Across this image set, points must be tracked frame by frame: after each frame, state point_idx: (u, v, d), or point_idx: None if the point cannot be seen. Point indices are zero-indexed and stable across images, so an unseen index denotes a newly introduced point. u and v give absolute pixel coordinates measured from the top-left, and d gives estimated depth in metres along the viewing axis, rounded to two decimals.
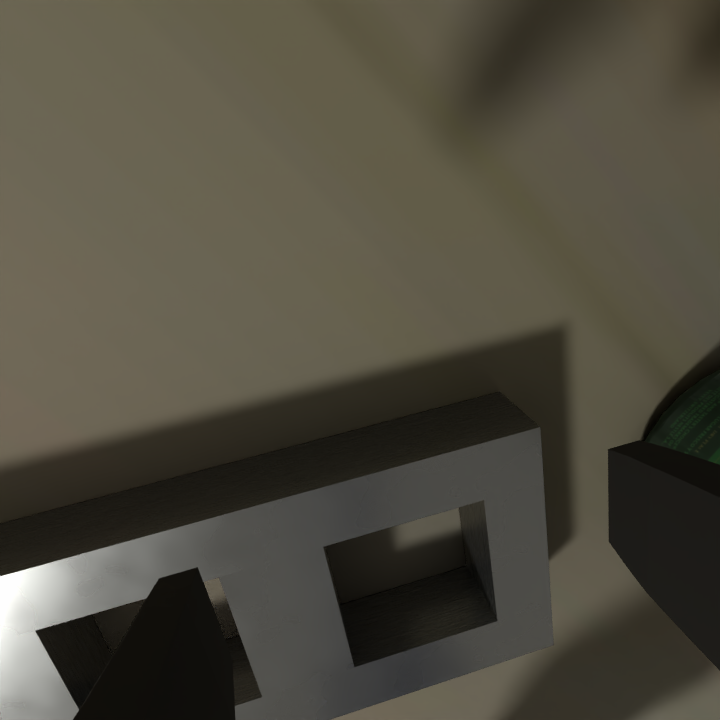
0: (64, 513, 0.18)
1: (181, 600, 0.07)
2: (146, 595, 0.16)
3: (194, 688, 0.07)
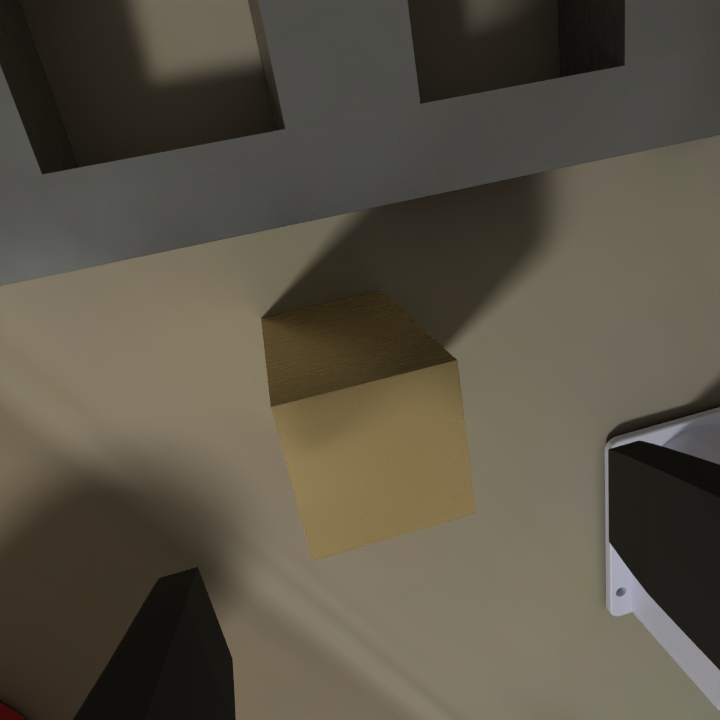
0: None
1: (181, 600, 0.07)
2: None
3: (194, 688, 0.07)
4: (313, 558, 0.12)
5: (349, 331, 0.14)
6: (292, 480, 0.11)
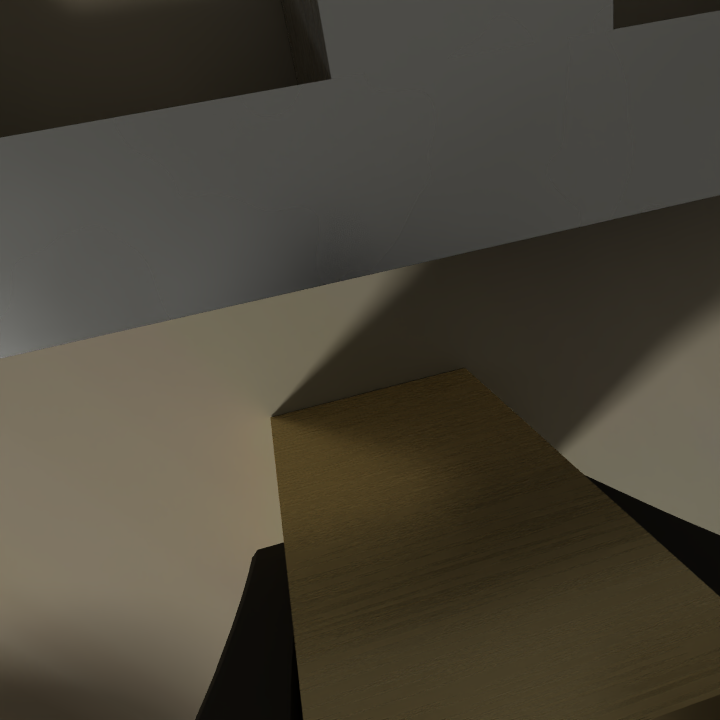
0: None
1: None
2: None
3: None
4: None
5: (444, 481, 0.07)
6: None
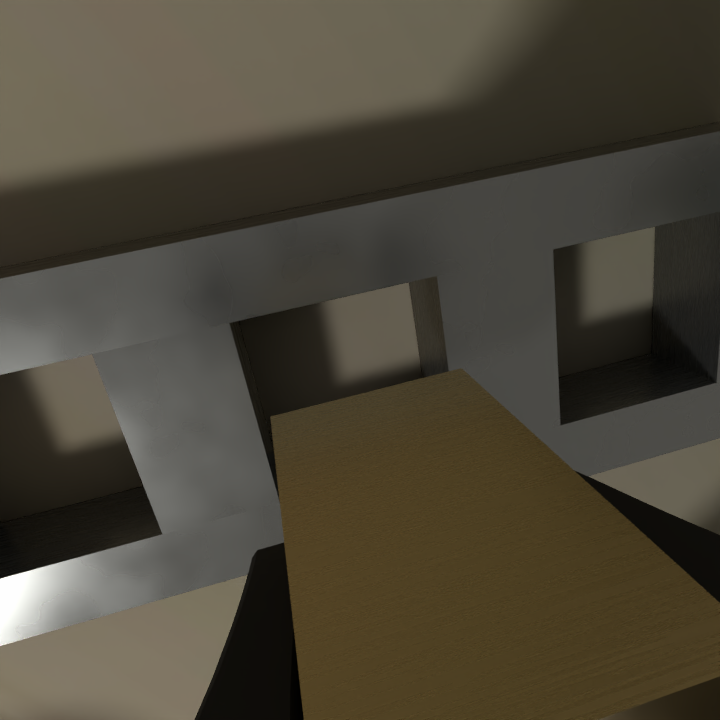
0: (242, 219, 0.15)
1: None
2: (355, 290, 0.14)
3: None
4: None
5: (441, 479, 0.08)
6: None
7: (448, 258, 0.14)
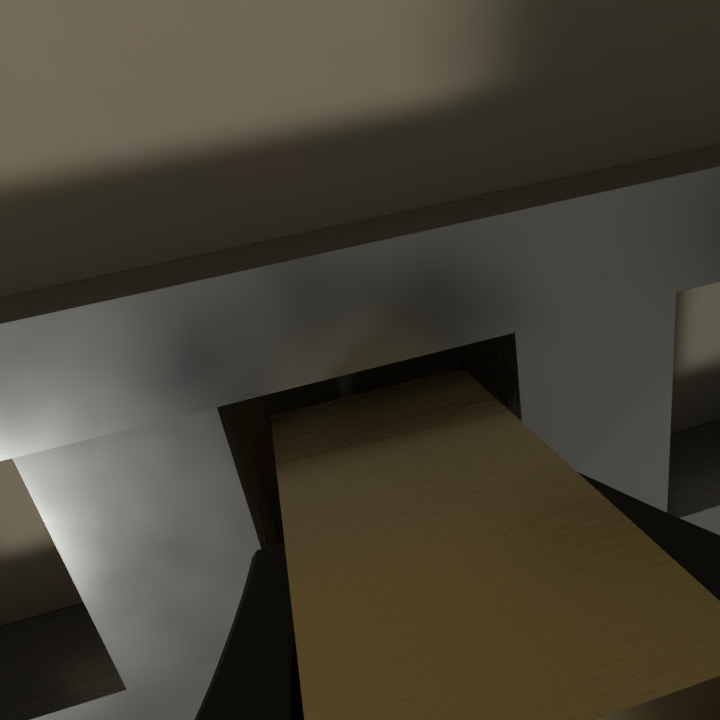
0: (237, 250, 0.11)
1: None
2: (400, 356, 0.10)
3: None
4: None
5: (441, 478, 0.08)
6: None
7: (532, 308, 0.10)
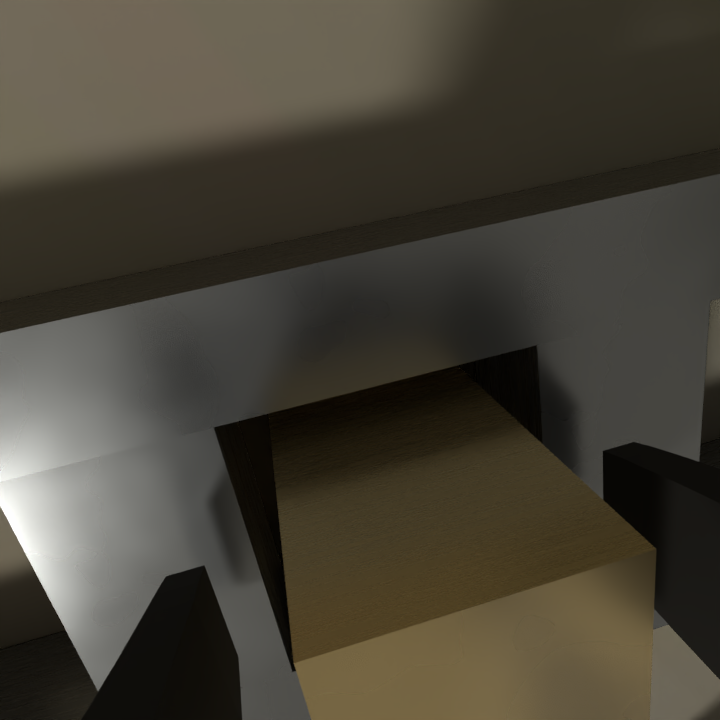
0: (235, 255, 0.10)
1: (189, 598, 0.07)
2: (412, 371, 0.09)
3: (202, 686, 0.07)
4: None
5: (410, 434, 0.09)
6: None
7: (556, 318, 0.09)
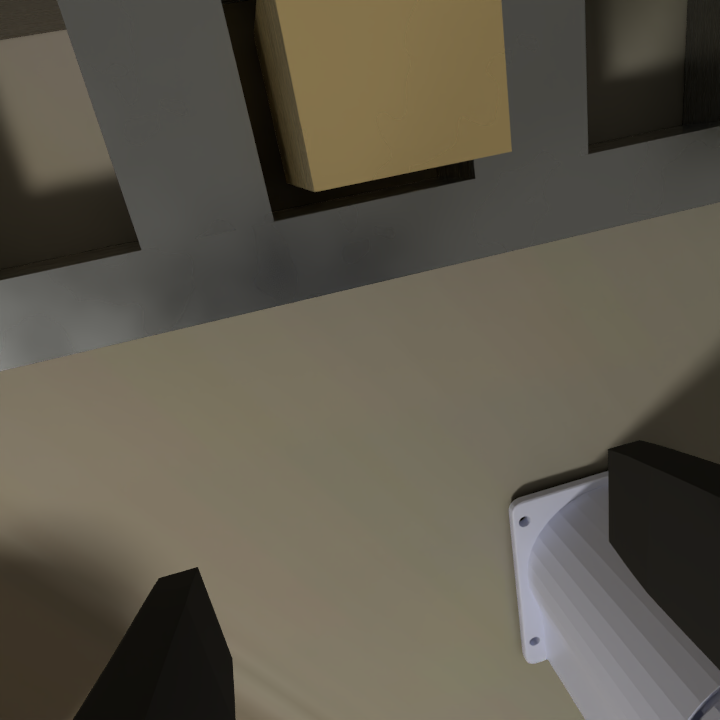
0: None
1: (181, 600, 0.07)
2: None
3: (194, 688, 0.07)
4: (315, 188, 0.10)
5: None
6: (289, 61, 0.09)
7: None
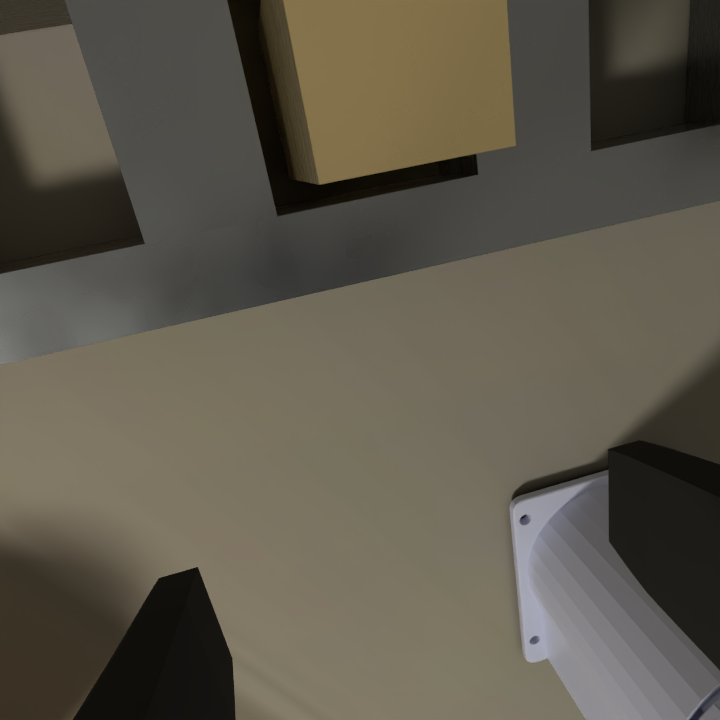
0: None
1: (181, 600, 0.07)
2: None
3: (194, 688, 0.07)
4: (320, 180, 0.10)
5: None
6: (295, 53, 0.09)
7: None
